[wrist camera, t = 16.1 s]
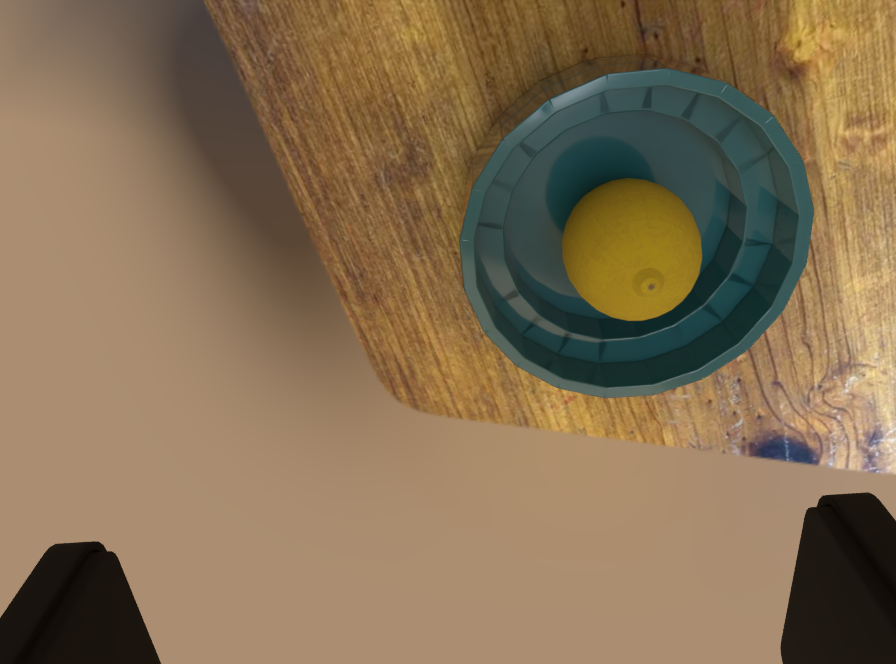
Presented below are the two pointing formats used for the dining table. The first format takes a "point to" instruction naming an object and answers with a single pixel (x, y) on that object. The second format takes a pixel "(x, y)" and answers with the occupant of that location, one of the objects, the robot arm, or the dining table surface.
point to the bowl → (639, 157)
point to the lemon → (632, 249)
